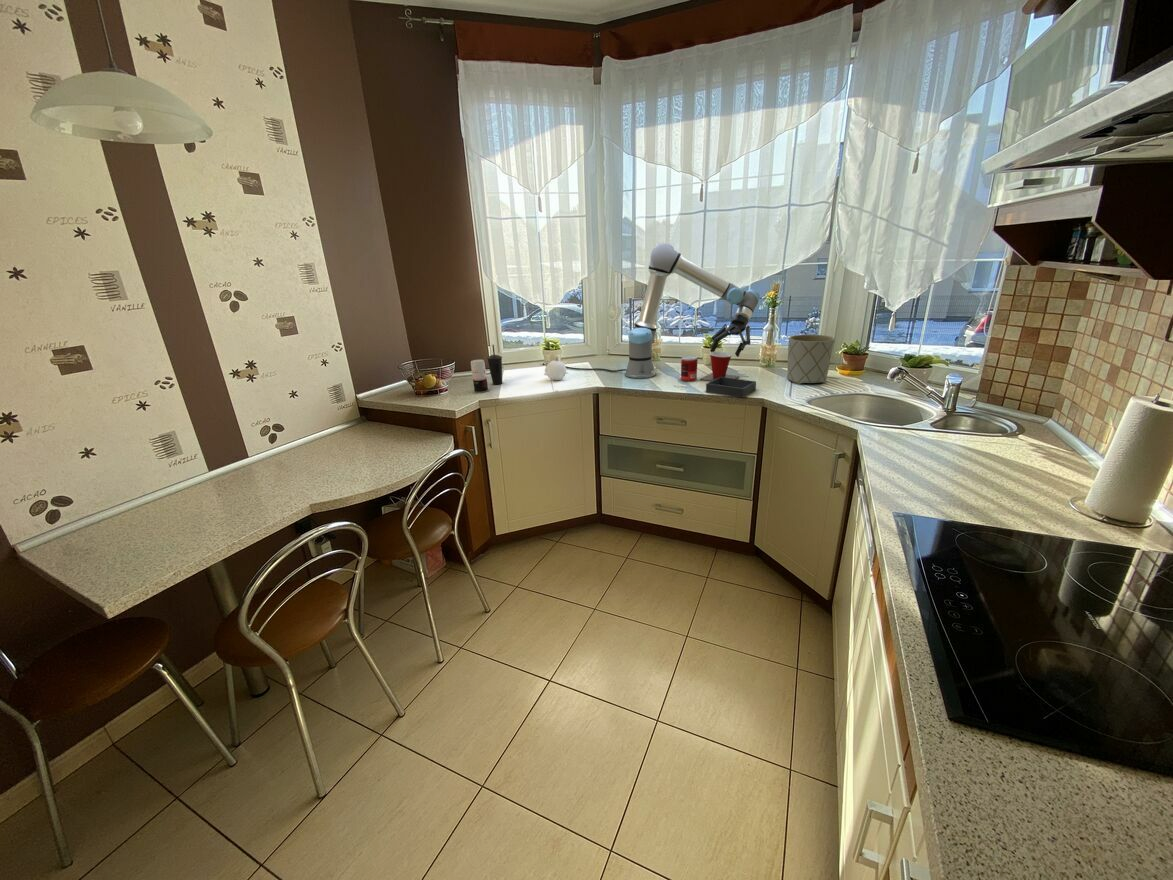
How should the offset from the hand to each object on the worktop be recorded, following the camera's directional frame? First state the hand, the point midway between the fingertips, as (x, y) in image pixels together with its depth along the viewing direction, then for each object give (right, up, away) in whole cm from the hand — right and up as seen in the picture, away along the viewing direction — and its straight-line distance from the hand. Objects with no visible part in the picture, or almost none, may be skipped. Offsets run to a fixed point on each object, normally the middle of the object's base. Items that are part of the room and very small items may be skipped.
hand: (723, 353), depth 232 cm
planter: (+36, -14, -8) cm, 40 cm away
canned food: (-16, -12, +3) cm, 21 cm away
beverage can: (-119, -18, +2) cm, 120 cm away
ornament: (-83, -11, +15) cm, 85 cm away
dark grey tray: (-2, -20, -19) cm, 28 cm away
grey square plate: (-2, -12, +2) cm, 12 cm away
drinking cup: (-113, -13, +14) cm, 115 cm away
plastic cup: (-1, -11, +2) cm, 12 cm away
